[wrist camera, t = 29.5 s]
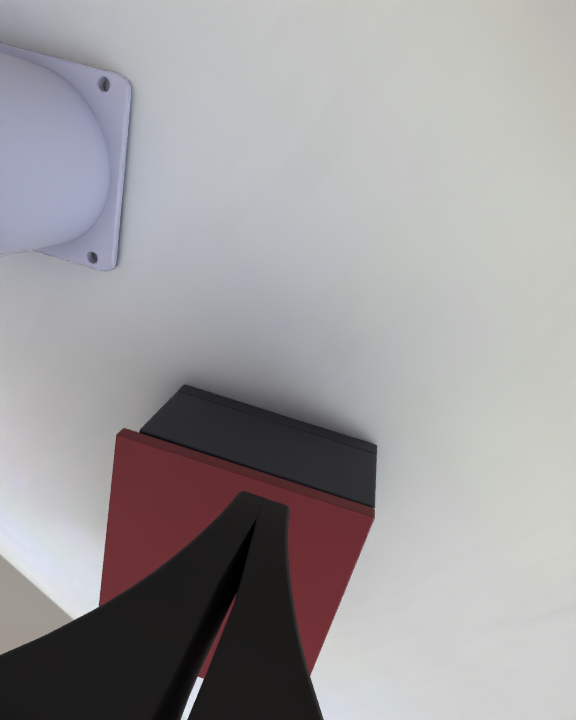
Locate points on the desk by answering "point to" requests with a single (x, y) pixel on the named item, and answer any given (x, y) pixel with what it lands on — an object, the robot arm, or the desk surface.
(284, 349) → the desk surface
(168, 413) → the case
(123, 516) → the cover
